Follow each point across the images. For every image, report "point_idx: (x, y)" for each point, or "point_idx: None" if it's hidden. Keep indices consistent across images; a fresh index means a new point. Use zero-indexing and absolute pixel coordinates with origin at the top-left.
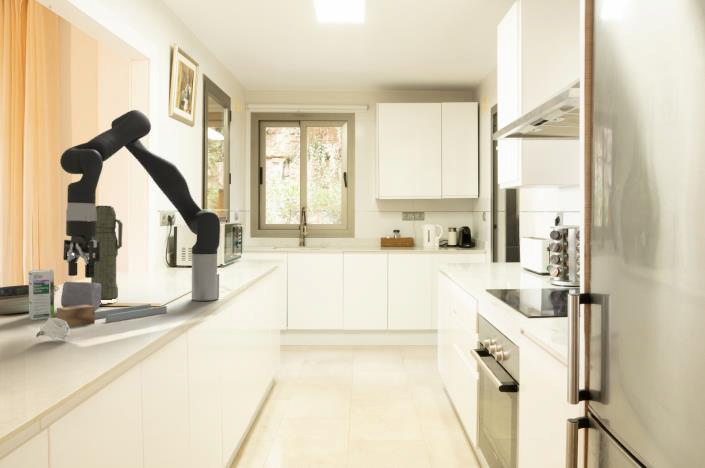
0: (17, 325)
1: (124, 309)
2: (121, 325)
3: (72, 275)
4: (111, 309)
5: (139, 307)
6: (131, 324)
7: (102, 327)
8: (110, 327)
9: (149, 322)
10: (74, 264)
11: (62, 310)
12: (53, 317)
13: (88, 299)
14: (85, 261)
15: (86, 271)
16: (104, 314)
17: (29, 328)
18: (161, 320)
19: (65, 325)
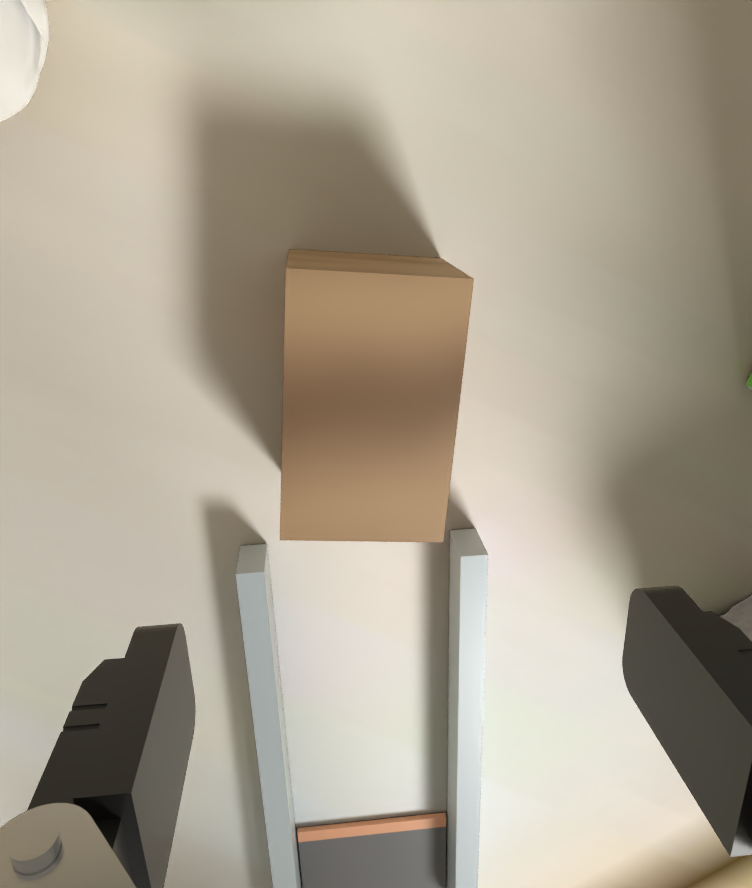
0: (726, 52)
1: (455, 769)
2: (36, 547)
3: (628, 618)
4: (476, 701)
5: (454, 857)
6: (21, 605)
7: (62, 430)
8: (15, 465)
9: (3, 706)
10: (722, 785)
11: (338, 270)
12: (746, 382)
13: None
14: (73, 853)
15: (115, 688)
16: (454, 629)
17: (502, 47)
18: (17, 779)
19: None
